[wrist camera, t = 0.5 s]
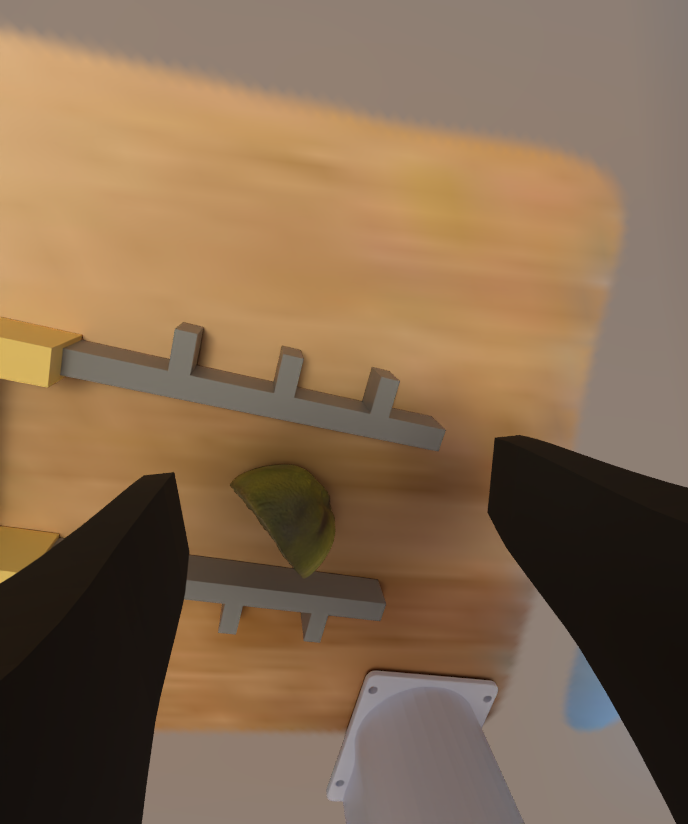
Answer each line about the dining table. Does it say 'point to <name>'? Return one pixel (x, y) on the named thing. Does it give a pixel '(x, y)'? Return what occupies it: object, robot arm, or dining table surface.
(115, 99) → the dining table surface
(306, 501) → the lime
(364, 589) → the grey u-shaped block
